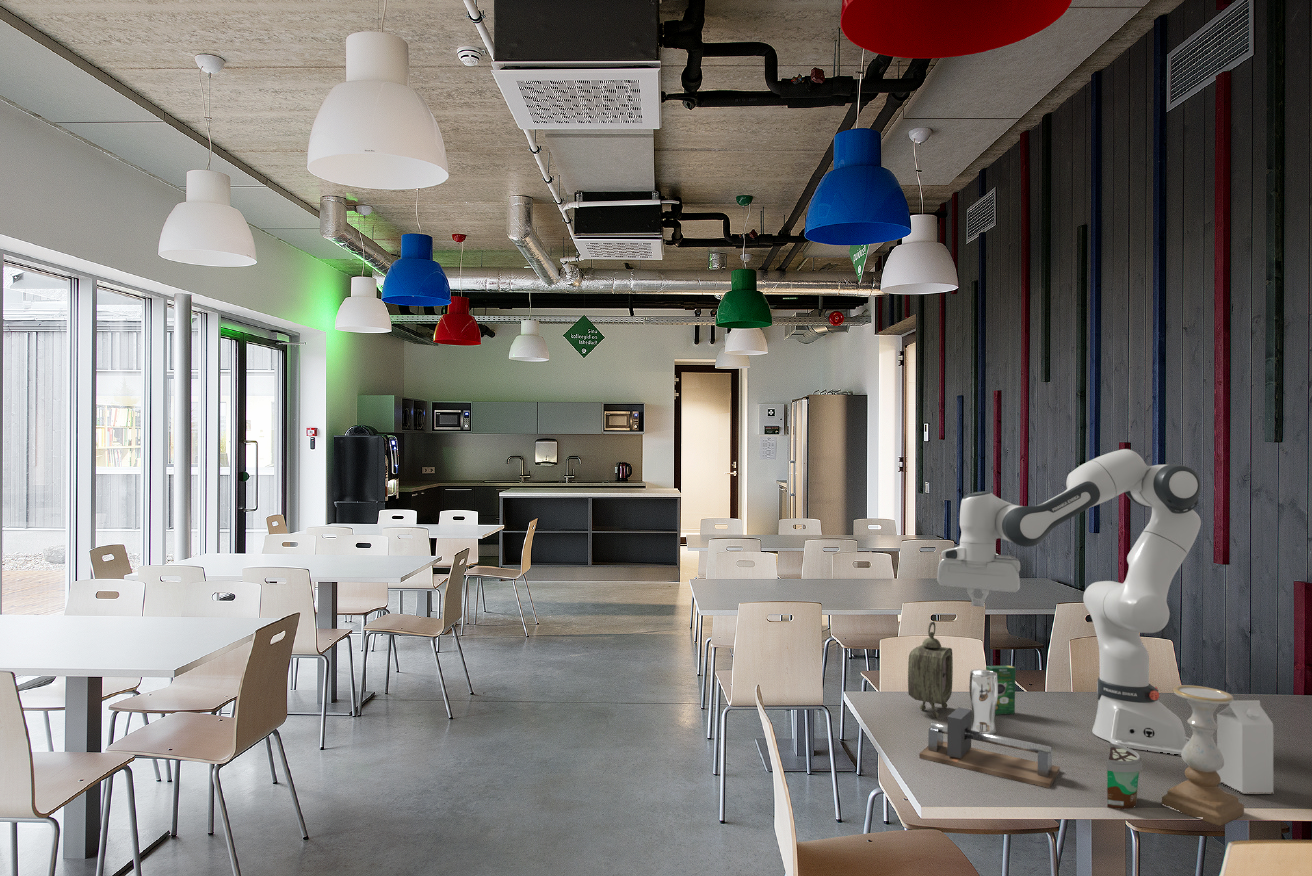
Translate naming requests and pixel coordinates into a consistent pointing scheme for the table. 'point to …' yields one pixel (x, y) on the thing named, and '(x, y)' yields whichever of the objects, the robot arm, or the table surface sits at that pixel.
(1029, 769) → the board
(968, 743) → the collar
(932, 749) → the linear slide rail
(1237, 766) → the milk carton
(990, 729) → the beer glass
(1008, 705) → the coffee box
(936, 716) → the tabletop clock
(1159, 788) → the table surface
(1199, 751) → the candle holder
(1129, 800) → the food container
